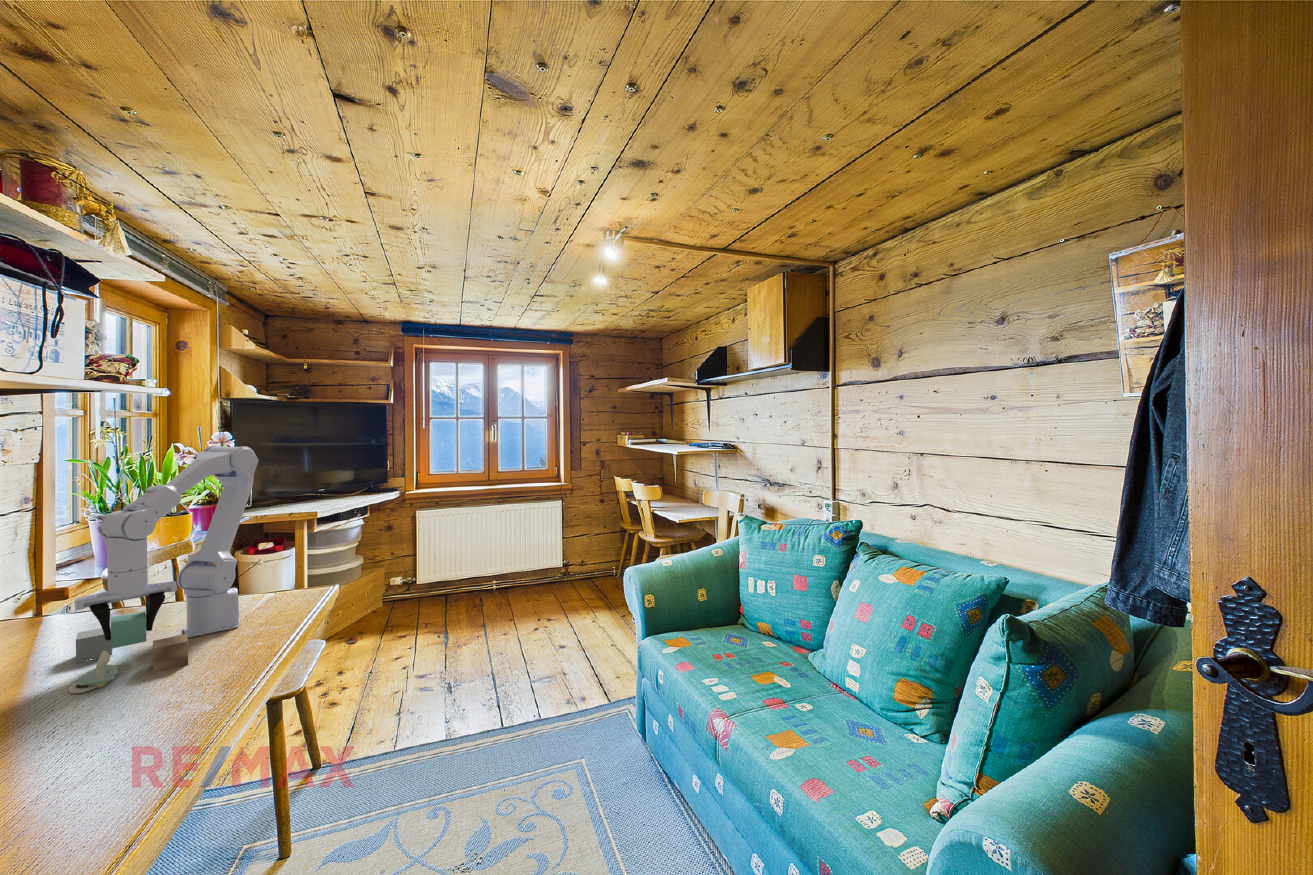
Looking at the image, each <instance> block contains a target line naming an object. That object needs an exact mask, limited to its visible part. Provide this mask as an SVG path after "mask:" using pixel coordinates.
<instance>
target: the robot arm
mask: <svg viewBox="0 0 1313 875" xmlns="http://www.w3.org/2000/svg"><path fill="white" fill-rule="evenodd" d="M195 458H196V459H195V460H193V461H192V462H191V463H190V464H189V465H188V466H186V467H185V468H184V469H183V470H181V472H179V473H177V475H176V476H175V477H173V479H171V480H170V481H169V482H167V484H157V485H154V486H149V487H147V488H146V489H144V491H145V492H144V493H142V494H141V495H140V496H139V497H138V498H136V499H135V500H134V501H132V502H128V503H126V505H125V506H124V507H123V509H122V510H117V511H112V512H110V513H109V514H107V515H106V516H105V517H104V518H103V519H102V520H101V522H100V526H97V528H96V529H97V532H98V534H99V535H100V536H101V537H102V538H103V539H104V546H106V551H107V552H106V554H107V555H106V557H107V565H106V566H107V591H103V592H100V593H94V594H90V595H86V596H82V597H81V596H80V597H76V598H74V610H75V611H80V610H83V609H85V608H89V609H90V611H91V613H92V614H93V615H94V616H95V618H96V619H97V621H98V622H99V625H100V628H102V629H103V632H104V638H105V640H106V641H107V640H111V630H110V626H111V608H110V604H112V603H118V602H122V601H128V600H134V599H139V598H143V597H144V600H145V601H144V602H145V613H146V632H149V631H150V632H151V631H153V626H154V624H155V620H156V616H157V614H158V612H159V610H160V608H161V607H162V605H163V604H164V602H165V600H166V595H165V594H166V593H175V592H176V593H177V591H178V588H180V589H181V590H183V594H184V595H186V625H185V626H183V632H184V634H186V635H187V639H189V638H194V637H199V636H203V635H207V634H212V633H217V632H222V631H226V630H231V629H235V628H236V629H237V628H239V627H240V625H239V620H240V618H239V617H240V611H239V593H238V592H239V590H238V588H237V587H232V585H233V584H234V582H235V579H236V576H237V575H236V566H237V564H238V560H237V559H235V557H234V556H233V555H232V554H231V550H232V547H233V543H234V541H235V538H236V535H237V531H238V530H239V527H240V524H241V521H242V519H243V515H244V512H245V510H246V506H247V503H248V500H249V498H250V496H251V491H252V489H253V486H254V477H255V476H254V475H255V472H256V469H257V466H258V463H259V458H258V457H257V455H256V453H255V452H254V450H253V449H252V448H251V447H250V446H249V447H248V446H243V445H242V446H218V445H211V446H208V447H205V448H204V449H203V451H200V452H198V453H197V454H196V457H195ZM210 476H213V477H214V479H216V480H218V481H219V482H220V483H221V485H222V486H223V488H222V491H221V493H220V496H219V499H218V501H217V504H216V507H215V510H214V512H213V515H212V518H211V520H210V523H209V526H208V528H207V532H206V533H205V534H206V535H205V536H204V540H203V542H202V546H201V548H200V550H198V551H197V552H195V553H193V554H192V555H190V556H189V557H188V558H187V561H186V563H185V565H184V566H183V567H182V568H181V569H180V571H179V572H178V575H177V577H176V581H175V580H173V581H172V580H171V581H165V582H157V583H148V581H149V580H148V536H150V535H152V534H153V532H154V531H155V529H156V525H157V523H159V521H160V519H162V518H163V517H164V516H165V515H167V514H168V513H169V512H170V511H172V510H173V509H175V508H176V507H177V506H178V505H179V504H181V502H182V498H181V497H182V495H183V494H185V493H186V492H187V491H189V490H191V489H192V488H193V487H195V486H196V485H198V484H200V483H201V482H202V481H203V480H205V479H206V478H208V477H210ZM177 585H178V586H177Z"/></svg>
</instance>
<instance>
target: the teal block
mask: <svg viewBox="0 0 1313 875" xmlns="http://www.w3.org/2000/svg"><path fill="white" fill-rule="evenodd" d="M110 626H111V649H112V650H113V649H116V648H121V647H127V646H130V645H131V646H132V645H136V644H140V643H145V642H147V630H146V610H144V611H139V612H132V613H128V614H122V615H116V616H110Z"/></svg>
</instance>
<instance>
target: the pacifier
mask: <svg viewBox="0 0 1313 875" xmlns="http://www.w3.org/2000/svg"><path fill="white" fill-rule="evenodd" d="M110 659H111V656H110V654H109V653H108V652H107V651H102V653H101V655H100V657H99V659H97V662H96V666H95V668H93V669H92V670H89V671H88V672H86V673H85V674H84V675H83V676H82V677H81V678H80V679H79V680H78V681H77V682H75V683H73V684H72V685H70V687H69V689H68V692H69V693H71V694H82V693H86V692H89V691H92V690H95V689H98V688H102V687H104V686H106V685H107V684H109V681H112V680H114V679H115V676H116V675H117V674H118V671H119V669H118V667H117V666H116V665H115V664H108V663H109V661H110ZM79 686H87V687H82V688H78V687H79Z"/></svg>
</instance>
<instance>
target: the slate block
mask: <svg viewBox="0 0 1313 875" xmlns="http://www.w3.org/2000/svg"><path fill="white" fill-rule="evenodd" d="M110 630H111V625H110ZM102 651H107V652H108V653H109V654H110V655H112V656H113V649H111V640H107V641H106V640H105V638H104V632H103V629H102V627H100V628H96V629H91V630H90V629H89V630H84V631H79V632H77V633H76V638H75V664H76V663H77V664H81V663H85V662H84V661H86V662H88V661H87V660H90V659H96V660H98V659H97V658H99V657H100V655H101V653H102Z"/></svg>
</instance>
